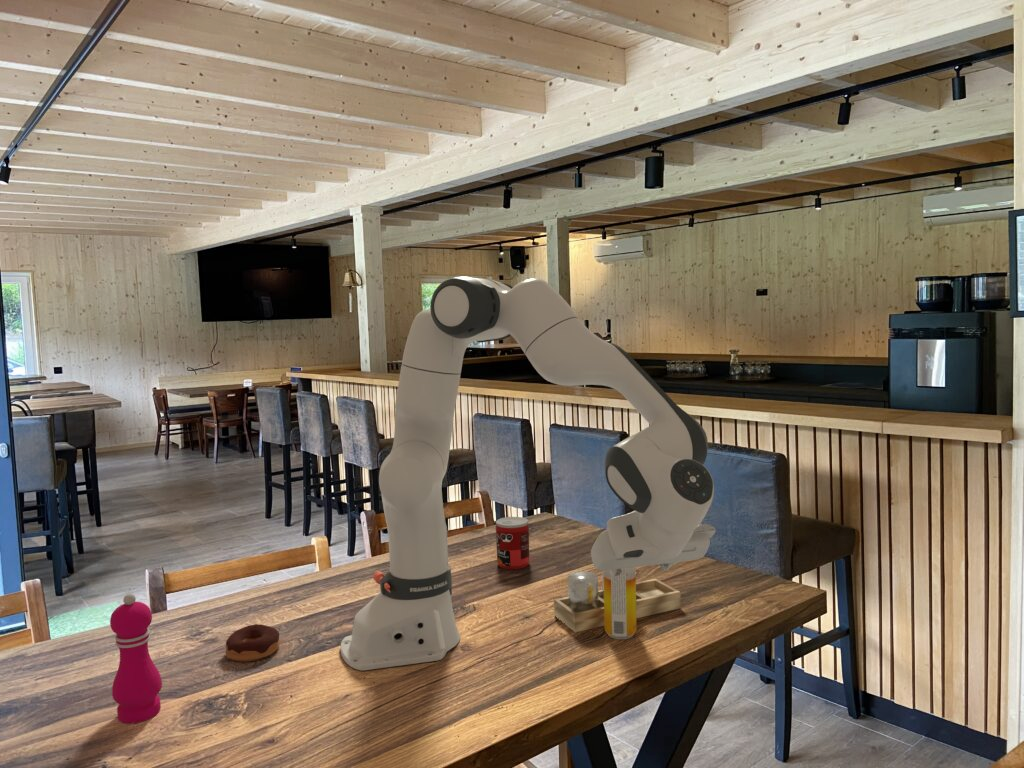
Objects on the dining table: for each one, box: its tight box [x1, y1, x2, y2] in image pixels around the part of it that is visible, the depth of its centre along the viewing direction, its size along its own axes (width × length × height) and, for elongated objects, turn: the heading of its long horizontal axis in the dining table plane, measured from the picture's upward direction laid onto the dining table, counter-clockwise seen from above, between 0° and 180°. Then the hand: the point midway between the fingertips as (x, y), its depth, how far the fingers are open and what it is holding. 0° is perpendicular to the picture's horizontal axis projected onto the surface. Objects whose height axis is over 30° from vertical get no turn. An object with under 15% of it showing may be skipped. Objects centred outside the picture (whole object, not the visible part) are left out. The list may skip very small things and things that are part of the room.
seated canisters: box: [567, 570, 604, 613], centre depth 156 cm, size 14×6×7 cm, turn 114°
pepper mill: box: [109, 593, 163, 724], centre depth 123 cm, size 7×7×20 cm
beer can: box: [602, 567, 637, 640], centre depth 147 cm, size 6×6×15 cm
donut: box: [225, 623, 281, 663], centre depth 145 cm, size 10×10×4 cm
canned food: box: [495, 516, 530, 570], centre depth 188 cm, size 8×8×11 cm
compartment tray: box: [553, 578, 682, 633], centre depth 158 cm, size 25×9×4 cm, turn 114°
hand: (638, 569), depth 137 cm, fingers open, 8 cm apart
